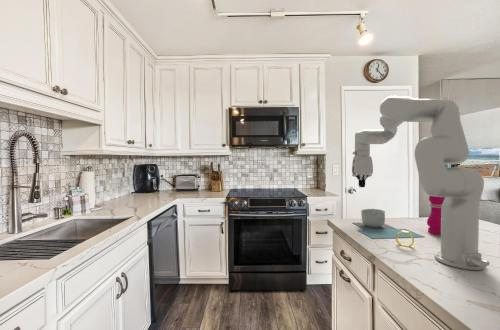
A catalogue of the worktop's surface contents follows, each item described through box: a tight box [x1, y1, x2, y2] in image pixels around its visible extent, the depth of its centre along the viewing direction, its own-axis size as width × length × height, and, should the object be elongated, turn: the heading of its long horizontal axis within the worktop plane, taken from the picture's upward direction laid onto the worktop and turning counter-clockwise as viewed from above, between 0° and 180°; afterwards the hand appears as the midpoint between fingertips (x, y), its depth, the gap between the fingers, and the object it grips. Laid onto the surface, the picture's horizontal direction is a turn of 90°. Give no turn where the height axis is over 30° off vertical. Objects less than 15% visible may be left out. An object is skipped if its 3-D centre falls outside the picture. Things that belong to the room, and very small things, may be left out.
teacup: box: [360, 208, 386, 228], centre depth 125 cm, size 14×11×8 cm
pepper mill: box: [426, 195, 445, 236], centre depth 113 cm, size 7×7×20 cm
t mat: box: [352, 222, 425, 240], centre depth 119 cm, size 25×24×1 cm
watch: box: [395, 230, 415, 248], centre depth 97 cm, size 6×3×6 cm, turn 52°
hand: (361, 186), depth 136 cm, fingers closed
